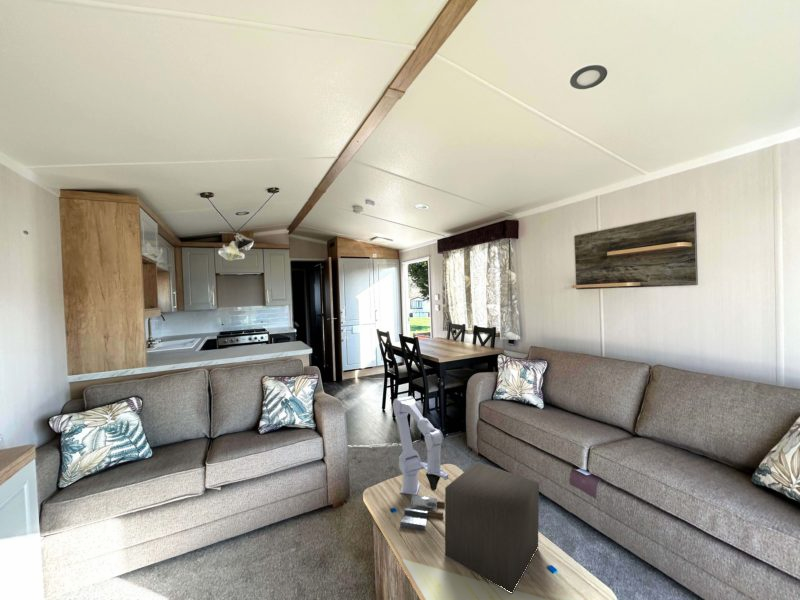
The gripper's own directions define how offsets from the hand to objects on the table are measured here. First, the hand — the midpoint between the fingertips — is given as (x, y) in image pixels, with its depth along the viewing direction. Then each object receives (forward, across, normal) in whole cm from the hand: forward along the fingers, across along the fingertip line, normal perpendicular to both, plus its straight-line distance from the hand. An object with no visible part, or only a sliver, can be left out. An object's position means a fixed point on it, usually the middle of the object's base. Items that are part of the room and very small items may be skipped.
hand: (433, 489), depth 149 cm
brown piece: (+9, +1, 0) cm, 9 cm away
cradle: (+9, -1, -11) cm, 15 cm away
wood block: (+9, +30, -3) cm, 32 cm away
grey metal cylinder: (+10, -3, -2) cm, 10 cm away
